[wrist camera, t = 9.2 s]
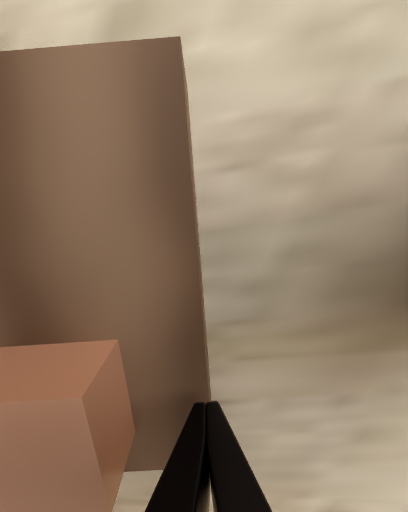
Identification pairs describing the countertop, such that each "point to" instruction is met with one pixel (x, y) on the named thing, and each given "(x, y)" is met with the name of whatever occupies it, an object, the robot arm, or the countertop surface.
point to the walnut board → (106, 221)
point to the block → (63, 427)
